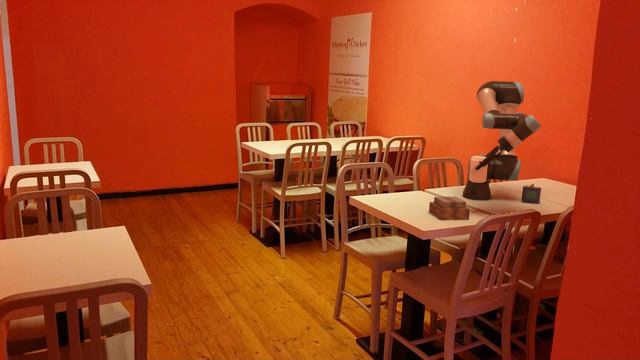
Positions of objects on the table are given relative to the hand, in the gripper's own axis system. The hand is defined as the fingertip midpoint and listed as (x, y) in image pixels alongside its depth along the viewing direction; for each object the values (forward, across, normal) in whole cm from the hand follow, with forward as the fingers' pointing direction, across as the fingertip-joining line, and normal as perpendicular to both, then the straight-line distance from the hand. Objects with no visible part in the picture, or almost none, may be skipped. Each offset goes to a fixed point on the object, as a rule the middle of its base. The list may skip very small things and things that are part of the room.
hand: (471, 171), depth 255 cm
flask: (-8, +32, -36) cm, 49 cm away
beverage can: (+1, 0, -6) cm, 6 cm away
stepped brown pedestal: (+19, -15, -8) cm, 26 cm away
